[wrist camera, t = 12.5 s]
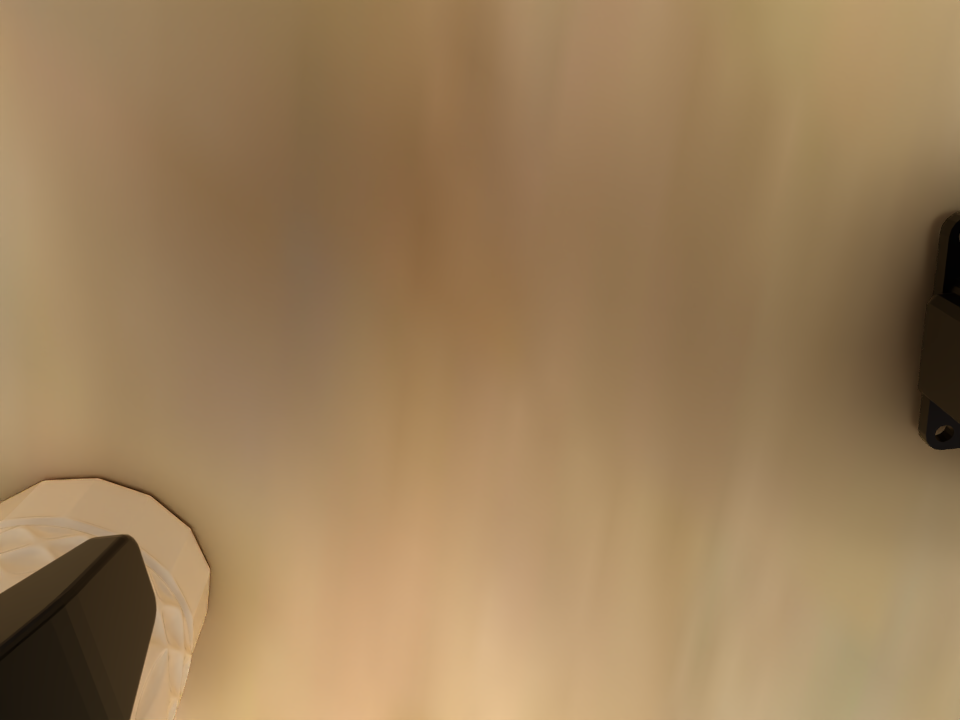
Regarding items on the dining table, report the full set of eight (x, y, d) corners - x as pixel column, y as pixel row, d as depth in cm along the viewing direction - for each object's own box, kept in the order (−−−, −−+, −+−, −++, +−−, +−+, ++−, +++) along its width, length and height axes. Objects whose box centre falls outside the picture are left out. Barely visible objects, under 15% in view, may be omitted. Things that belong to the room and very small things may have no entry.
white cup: (31, 405, 22) (-269, 682, 13) (282, 546, 24) (174, 872, 15) (-83, 597, 25) (-404, 945, 15) (155, 711, 27) (-5, 1080, 17)
